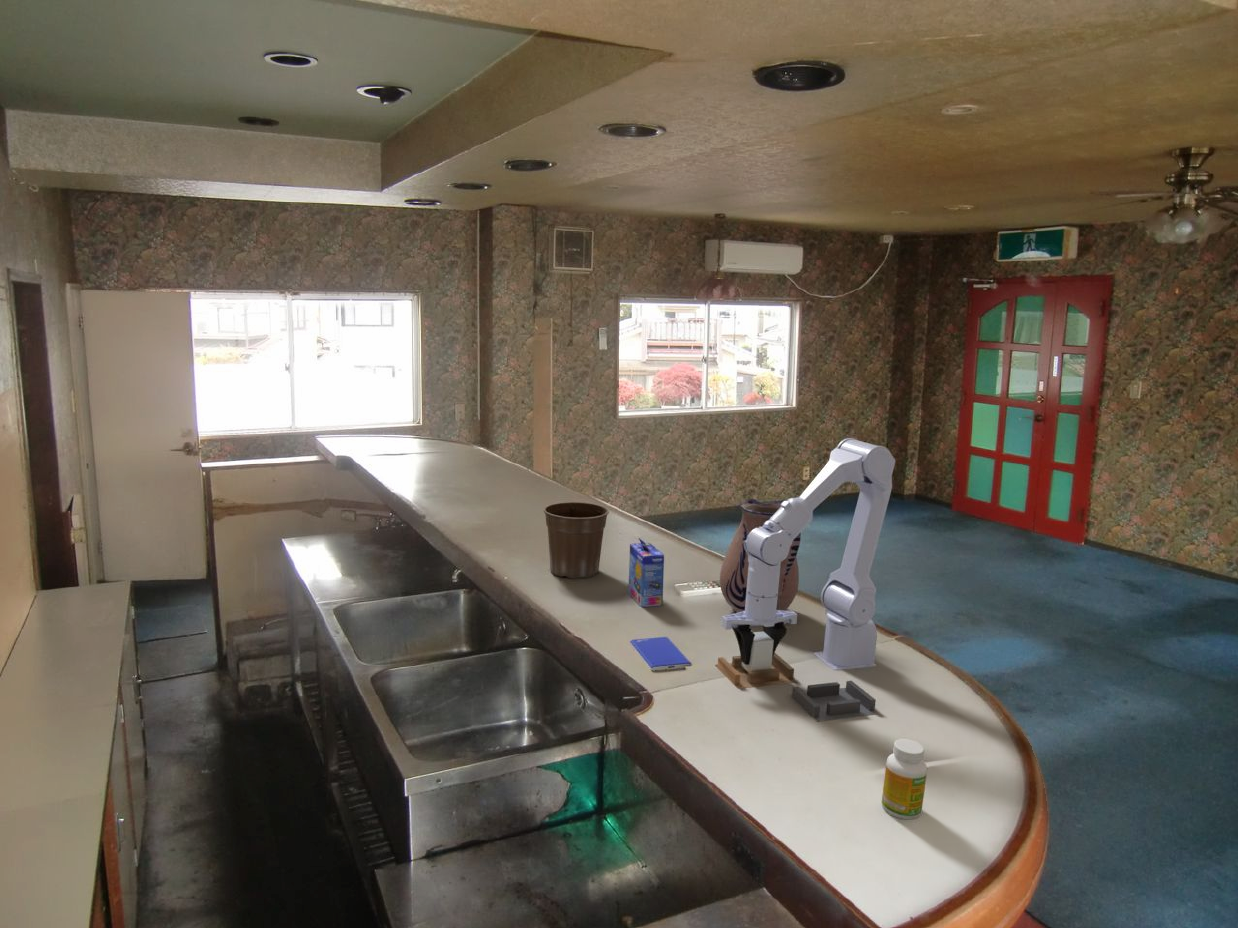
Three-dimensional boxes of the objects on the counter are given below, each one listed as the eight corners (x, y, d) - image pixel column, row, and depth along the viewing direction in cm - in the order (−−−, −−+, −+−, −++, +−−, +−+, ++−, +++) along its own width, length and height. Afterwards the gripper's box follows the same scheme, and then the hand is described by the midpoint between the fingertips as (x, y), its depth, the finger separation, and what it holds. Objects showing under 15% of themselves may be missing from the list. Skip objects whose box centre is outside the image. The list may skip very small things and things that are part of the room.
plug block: (760, 663, 161) (763, 631, 159) (770, 672, 157) (773, 639, 155) (741, 665, 159) (744, 633, 158) (751, 674, 156) (754, 641, 154)
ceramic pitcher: (758, 593, 203) (767, 492, 198) (824, 624, 186) (835, 514, 181) (701, 605, 193) (709, 499, 188) (764, 638, 176) (775, 523, 171)
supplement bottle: (911, 825, 115) (920, 760, 113) (874, 808, 119) (882, 745, 117) (927, 809, 119) (935, 746, 117) (891, 793, 123) (898, 731, 121)
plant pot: (529, 566, 214) (531, 505, 211) (583, 557, 223) (585, 498, 220) (563, 586, 201) (565, 520, 198) (618, 575, 210) (621, 513, 207)
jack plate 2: (846, 690, 155) (847, 677, 154) (878, 716, 145) (880, 703, 145) (787, 696, 151) (789, 683, 150) (817, 724, 141) (818, 710, 141)
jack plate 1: (770, 661, 165) (771, 649, 165) (796, 684, 156) (797, 671, 155) (714, 667, 161) (715, 654, 161) (737, 690, 152) (738, 678, 151)
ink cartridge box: (626, 592, 199) (629, 533, 196) (648, 591, 201) (651, 532, 198) (640, 607, 190) (643, 546, 187) (663, 606, 192) (667, 544, 189)
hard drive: (630, 639, 170) (651, 666, 158) (667, 636, 172) (691, 662, 161) (629, 646, 170) (650, 673, 158) (667, 643, 173) (691, 669, 161)
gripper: (735, 602, 149) (730, 674, 152) (808, 597, 154) (801, 666, 156) (719, 589, 156) (713, 657, 158) (788, 584, 160) (782, 651, 163)
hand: (756, 661), depth 158 cm, fingers closed on plug block, 4 cm apart
